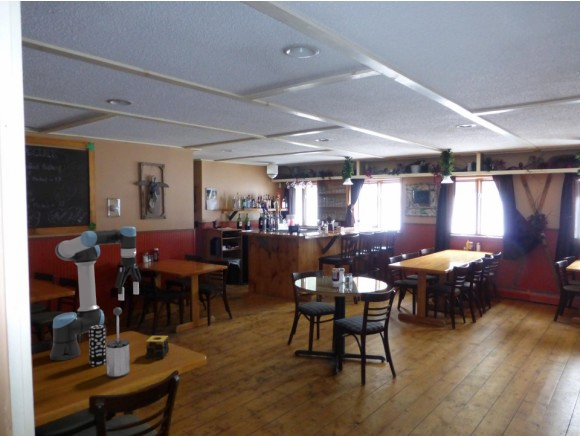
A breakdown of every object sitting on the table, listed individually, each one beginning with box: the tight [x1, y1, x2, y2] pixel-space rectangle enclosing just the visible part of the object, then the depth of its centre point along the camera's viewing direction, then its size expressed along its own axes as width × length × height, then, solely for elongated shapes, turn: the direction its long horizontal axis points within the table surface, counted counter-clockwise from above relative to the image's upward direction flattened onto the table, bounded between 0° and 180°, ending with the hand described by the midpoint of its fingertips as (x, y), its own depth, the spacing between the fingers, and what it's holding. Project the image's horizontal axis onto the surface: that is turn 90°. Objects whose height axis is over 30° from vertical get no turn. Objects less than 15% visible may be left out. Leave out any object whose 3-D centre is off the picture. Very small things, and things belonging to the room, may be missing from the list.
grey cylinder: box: [106, 338, 130, 379], centre depth 215 cm, size 10×13×16 cm
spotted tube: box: [88, 324, 107, 367], centre depth 226 cm, size 8×8×20 cm
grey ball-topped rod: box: [112, 307, 123, 343], centre depth 213 cm, size 8×8×24 cm
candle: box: [145, 335, 170, 360], centre depth 238 cm, size 10×10×10 cm
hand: (128, 297), depth 219 cm, fingers open, 13 cm apart
